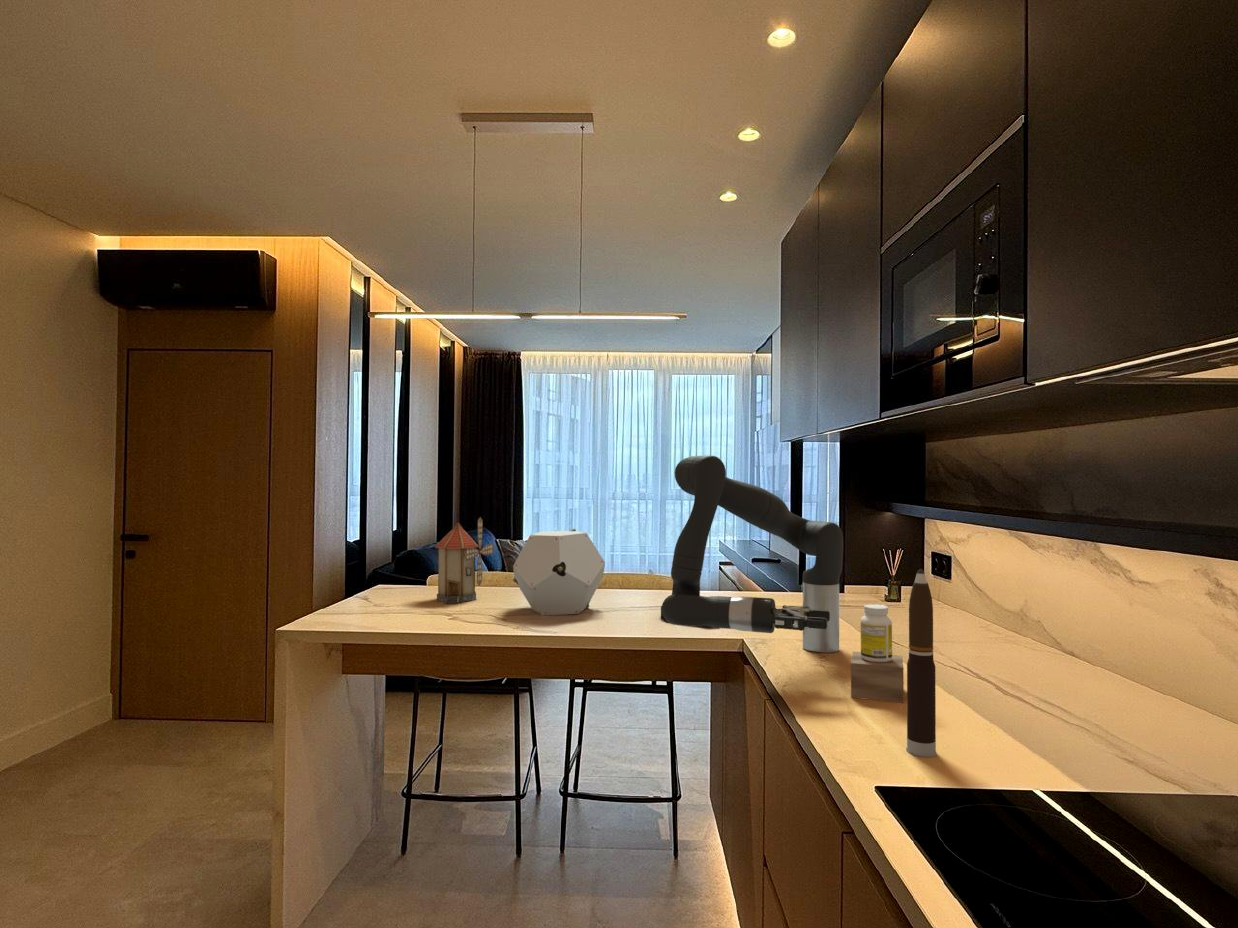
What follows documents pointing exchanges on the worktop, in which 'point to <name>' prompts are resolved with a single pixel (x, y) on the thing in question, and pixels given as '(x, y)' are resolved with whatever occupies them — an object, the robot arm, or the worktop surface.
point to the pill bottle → (876, 634)
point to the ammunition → (921, 672)
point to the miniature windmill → (460, 565)
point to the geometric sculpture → (559, 571)
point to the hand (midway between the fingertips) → (828, 619)
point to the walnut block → (877, 679)
